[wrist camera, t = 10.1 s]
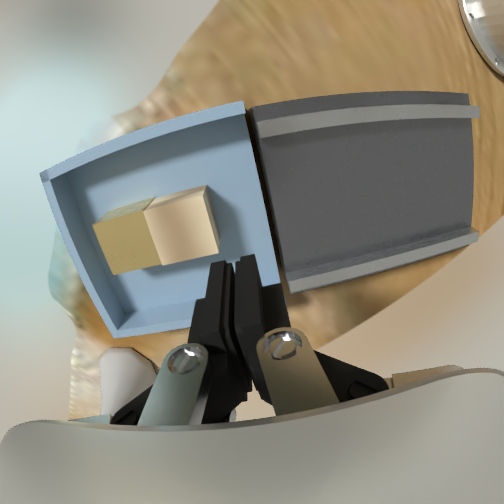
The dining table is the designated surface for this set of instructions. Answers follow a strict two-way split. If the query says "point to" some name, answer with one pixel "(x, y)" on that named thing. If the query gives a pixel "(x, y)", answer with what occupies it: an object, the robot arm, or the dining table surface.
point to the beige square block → (183, 225)
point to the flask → (123, 378)
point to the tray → (157, 185)
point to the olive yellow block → (127, 238)
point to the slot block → (366, 181)
